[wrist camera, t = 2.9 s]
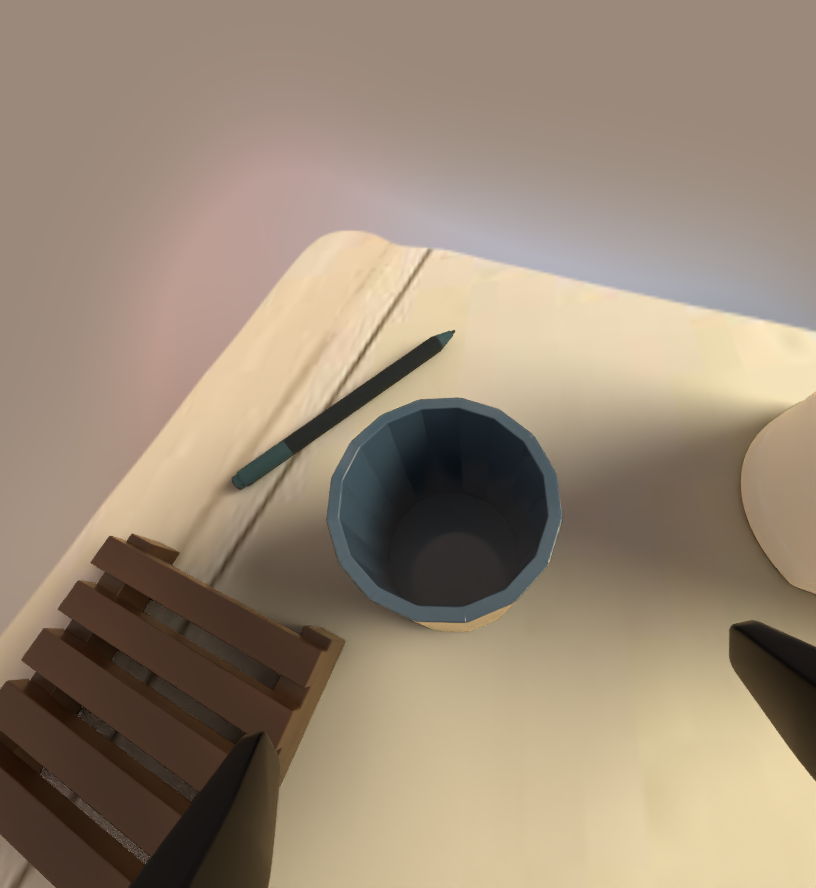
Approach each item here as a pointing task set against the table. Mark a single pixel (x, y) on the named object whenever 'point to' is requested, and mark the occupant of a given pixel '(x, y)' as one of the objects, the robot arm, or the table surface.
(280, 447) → the pen
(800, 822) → the table surface
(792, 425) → the jar
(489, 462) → the cup
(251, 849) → the robot arm
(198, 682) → the rack
